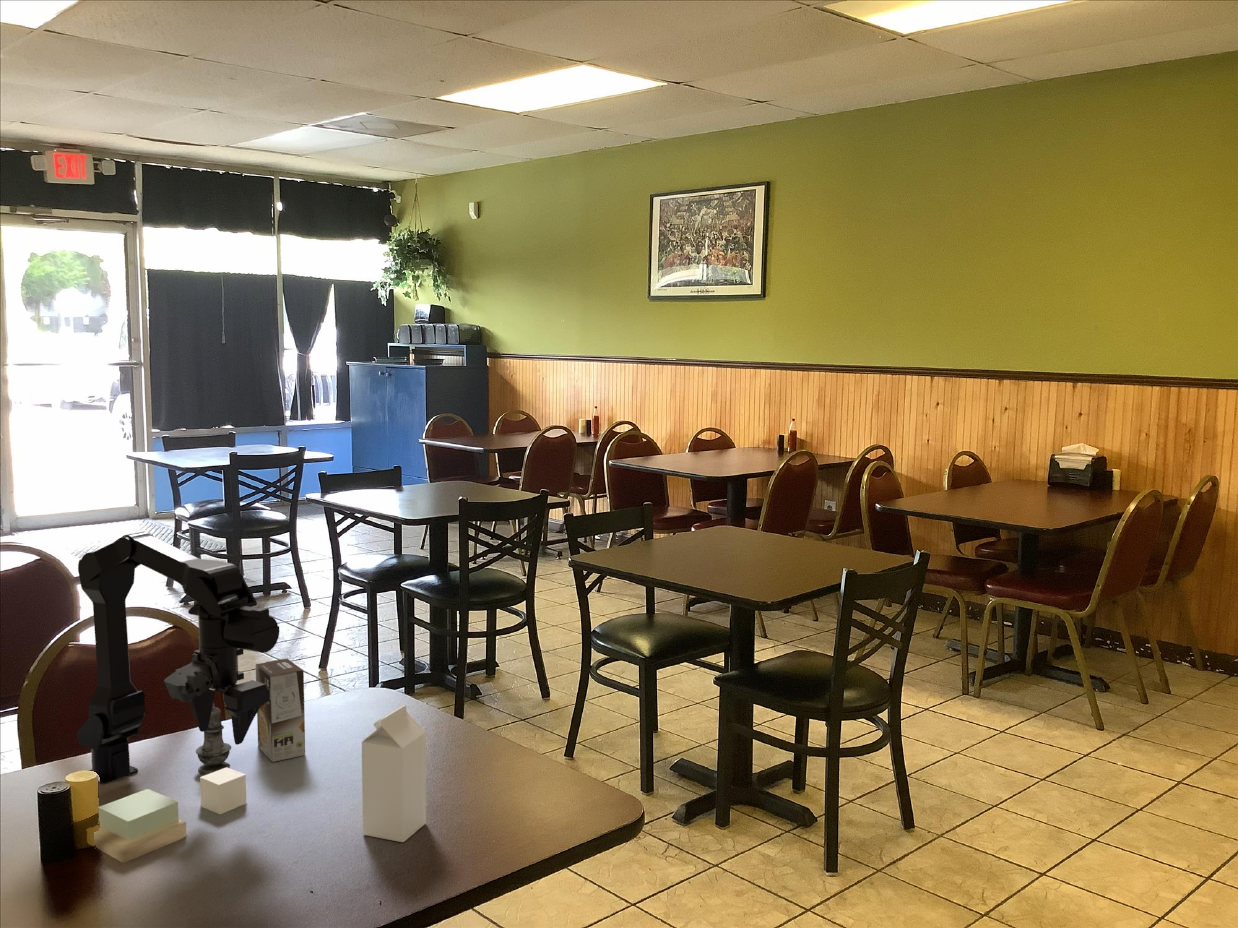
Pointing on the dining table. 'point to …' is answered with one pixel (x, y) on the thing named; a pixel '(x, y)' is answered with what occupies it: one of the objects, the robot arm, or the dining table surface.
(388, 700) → the dining table surface
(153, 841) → the maple slab
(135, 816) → the sage slab
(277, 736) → the coffee box
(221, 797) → the cream block
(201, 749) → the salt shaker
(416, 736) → the milk carton
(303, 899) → the dining table surface
